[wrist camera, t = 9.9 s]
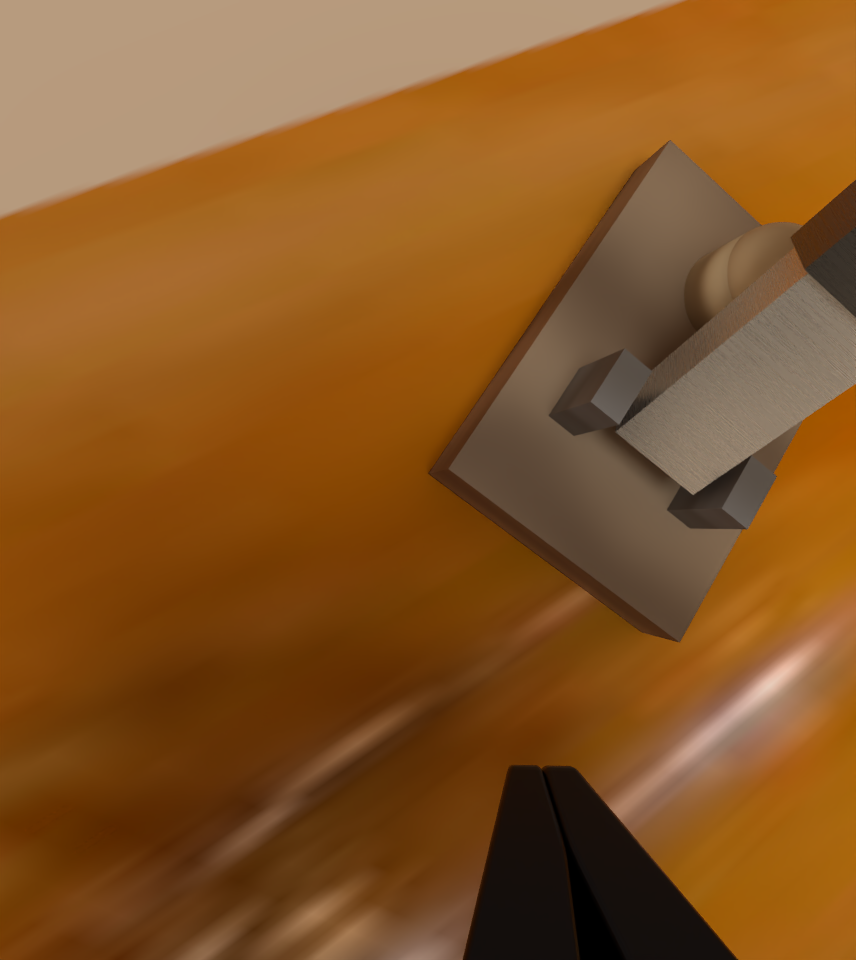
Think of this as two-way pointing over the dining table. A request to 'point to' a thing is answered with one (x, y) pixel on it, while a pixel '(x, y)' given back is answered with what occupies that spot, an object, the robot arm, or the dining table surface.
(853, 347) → the grey blocky upright piece
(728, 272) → the beige egg
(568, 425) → the grey base plate stand
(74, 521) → the dining table surface
